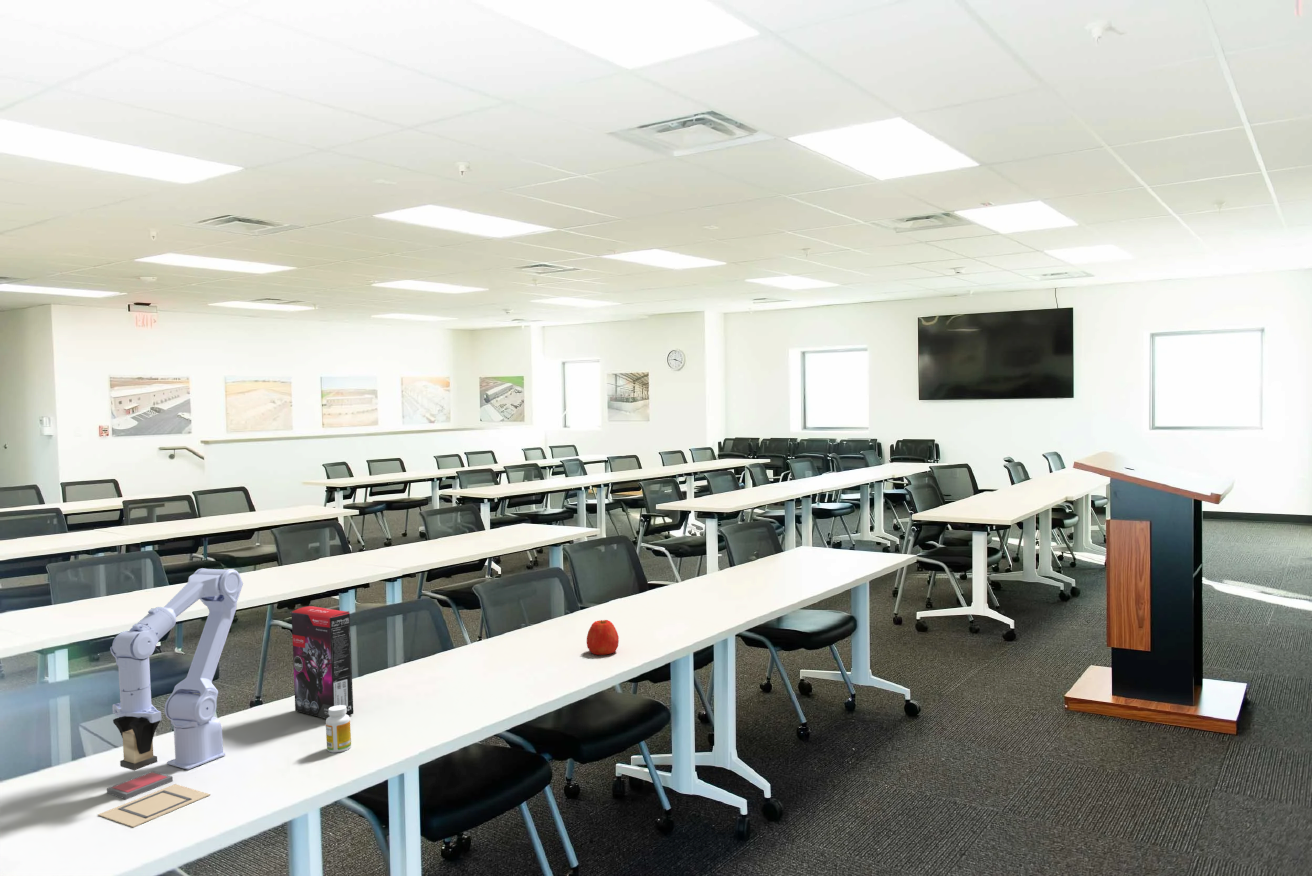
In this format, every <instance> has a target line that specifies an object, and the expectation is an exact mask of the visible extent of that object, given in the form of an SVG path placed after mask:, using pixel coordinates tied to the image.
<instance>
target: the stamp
mask: <svg viewBox="0 0 1312 876" xmlns="http://www.w3.org/2000/svg"><path fill="white" fill-rule="evenodd" d="M122 734H123V738H122V749H123V759H122V760H120V761H119V765H120V766H119V767H122V768H124V769H129V770H131V771H136V770H139V769H142V768H144V767H147V766H151V765H153V764H155V763H158V756H156V755H154V742H153V741H154V740H153V741H152V745H151V750H150V751H149V752H146V753H143V754H139V752H138V748H137V742H136V737H135V734H134V732H133V730H129V731H125V732H122Z"/></svg>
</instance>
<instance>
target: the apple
mask: <svg viewBox="0 0 1312 876" xmlns="http://www.w3.org/2000/svg"><path fill="white" fill-rule="evenodd" d="M619 638H620V637H619V634H618V631H617V629H616V627H615V625H614V624H613V623H612V622H611V621H610V620H608V619H600V620H597V621H594V622H593V623H592V624H591V626H590V628H589V629H588V633H587V636H586V646H587V647H586V648H587V649H588V650H589V652H590V653H592V654H593V655H598V656H607V655H610V654H614V653H616V651H617V650H618V647H619V641H620V640H619Z"/></svg>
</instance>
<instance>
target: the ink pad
mask: <svg viewBox="0 0 1312 876" xmlns="http://www.w3.org/2000/svg"><path fill="white" fill-rule="evenodd" d="M173 781H174V780H173V776H172V775H168V774H165V773H161V772H158V771H154V770H152V771H150V772H147V773H144V774H142V775H139V776H137V777H133V778H132V779H128V780H126V781H123V782H120V783H118V784H115V785H112V786H110V787H107V788H106V793H107V794H108V795H113V796H115V797H118V798H121V799H124V800H128V799H130V798H131V799H132V798H133V797H136V796H138V795H141V794H143V793H146V792H149V791H151V790H154V789H156V788H159V787H161V786H163V785H167V784H169V783H171V782H173Z"/></svg>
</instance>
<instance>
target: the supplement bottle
mask: <svg viewBox="0 0 1312 876" xmlns="http://www.w3.org/2000/svg"><path fill="white" fill-rule="evenodd" d="M346 712H347V709H346V706H344V705H337V706H333V707H330V708H329V709H328V714H329V716H330V717H328V718H327V719H326V718H325V733H326V735H325V737H326V738H325V739H326V750H327V752H329V753H342V752H345V751H346V752H347V750H349V749H350V748H351V747H352V733H351V730H352V729H351V717H350V715H349V716H348V715H346Z"/></svg>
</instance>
